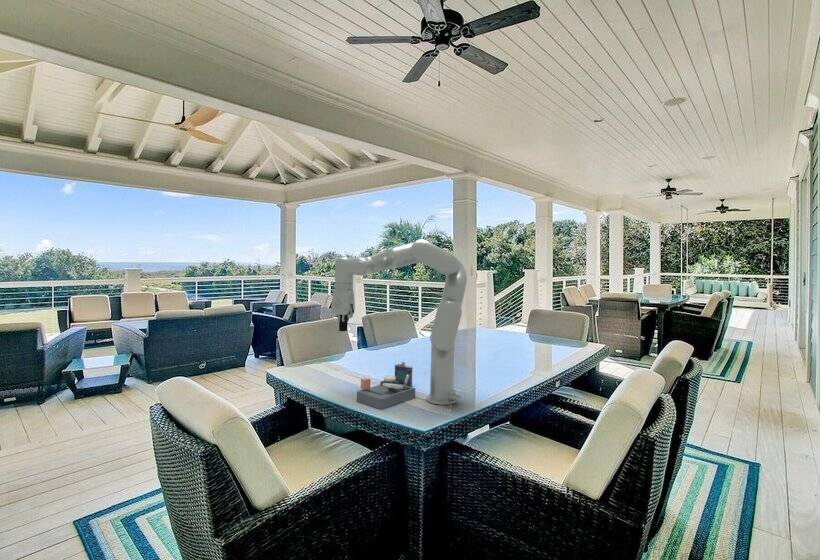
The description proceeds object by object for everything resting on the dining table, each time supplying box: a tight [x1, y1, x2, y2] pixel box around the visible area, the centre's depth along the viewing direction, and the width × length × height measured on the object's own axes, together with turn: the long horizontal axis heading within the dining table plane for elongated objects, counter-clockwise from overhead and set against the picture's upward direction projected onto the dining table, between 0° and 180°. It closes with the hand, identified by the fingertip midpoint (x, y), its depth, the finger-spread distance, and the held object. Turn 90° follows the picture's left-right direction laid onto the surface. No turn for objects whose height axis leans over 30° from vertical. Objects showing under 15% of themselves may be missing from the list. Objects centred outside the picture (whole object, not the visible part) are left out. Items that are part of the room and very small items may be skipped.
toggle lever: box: [404, 369, 413, 387], centre depth 174 cm, size 2×2×7 cm
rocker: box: [382, 383, 403, 389], centre depth 169 cm, size 4×8×1 cm, turn 139°
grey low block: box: [356, 380, 416, 411], centre depth 172 cm, size 14×20×6 cm
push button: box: [383, 375, 396, 383], centre depth 178 cm, size 5×5×3 cm
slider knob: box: [360, 377, 371, 390], centre depth 171 cm, size 2×3×4 cm
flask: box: [394, 361, 413, 387], centre depth 193 cm, size 9×3×11 cm, turn 59°
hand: (343, 330), depth 175 cm, fingers closed
